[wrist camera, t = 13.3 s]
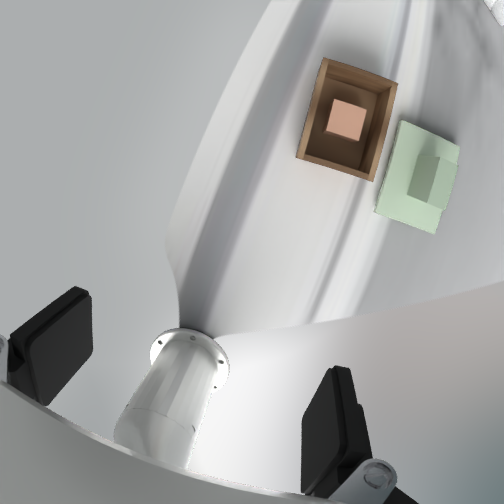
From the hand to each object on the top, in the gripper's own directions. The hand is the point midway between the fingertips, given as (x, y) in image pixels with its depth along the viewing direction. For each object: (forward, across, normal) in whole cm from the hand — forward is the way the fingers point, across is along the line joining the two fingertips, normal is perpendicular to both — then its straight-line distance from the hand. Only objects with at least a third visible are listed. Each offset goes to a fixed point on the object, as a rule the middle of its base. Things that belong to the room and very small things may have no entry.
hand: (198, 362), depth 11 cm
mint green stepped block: (+28, -17, -10) cm, 35 cm away
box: (+28, -6, -13) cm, 32 cm away
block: (+28, -6, -13) cm, 31 cm away
